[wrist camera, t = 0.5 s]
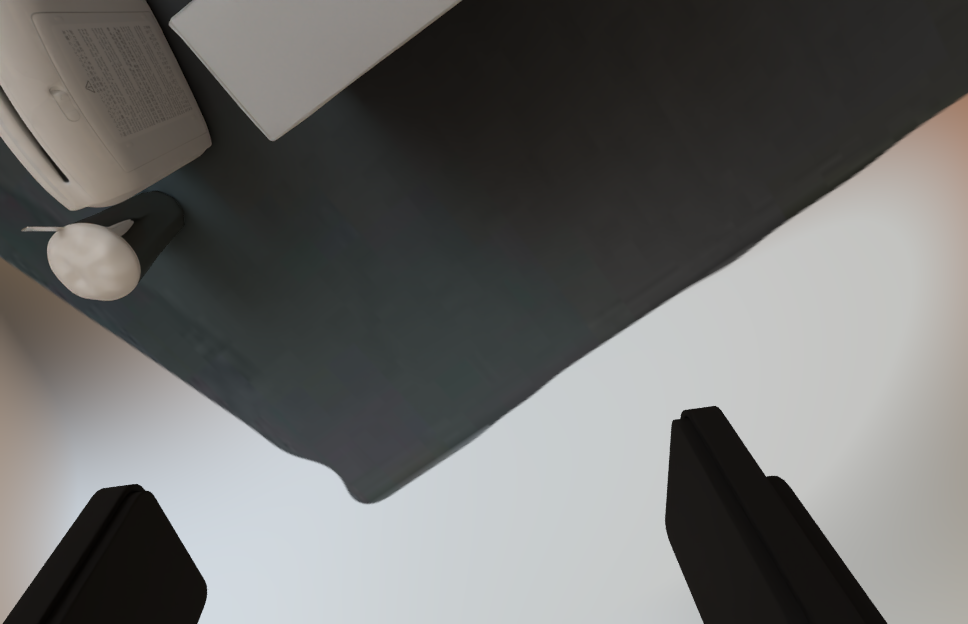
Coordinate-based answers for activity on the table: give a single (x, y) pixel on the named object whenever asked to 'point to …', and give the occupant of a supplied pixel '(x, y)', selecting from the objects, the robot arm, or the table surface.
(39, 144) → the photo printer
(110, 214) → the milkshake
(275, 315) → the table surface
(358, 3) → the skincare box
